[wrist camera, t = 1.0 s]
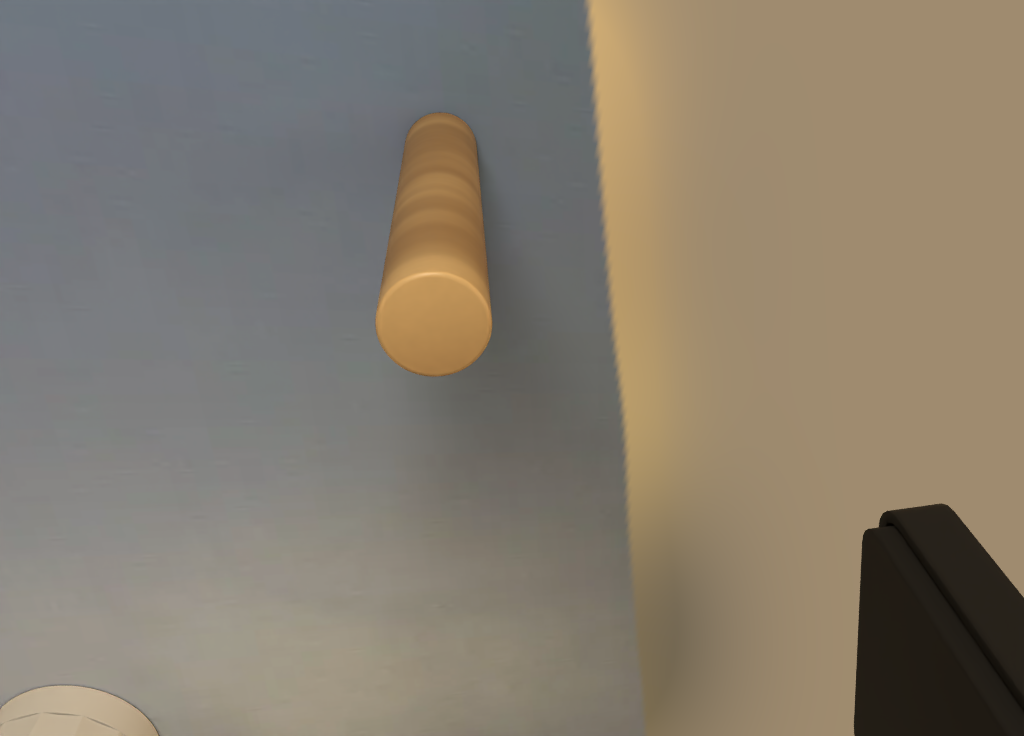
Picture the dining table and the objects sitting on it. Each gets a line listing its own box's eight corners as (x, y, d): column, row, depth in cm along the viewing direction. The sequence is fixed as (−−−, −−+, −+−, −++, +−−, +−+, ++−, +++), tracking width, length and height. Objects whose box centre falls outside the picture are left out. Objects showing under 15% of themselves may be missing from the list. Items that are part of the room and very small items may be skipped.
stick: (399, 116, 27) (364, 280, 16) (471, 107, 27) (483, 264, 16) (411, 187, 28) (386, 385, 17) (481, 177, 28) (499, 370, 17)
